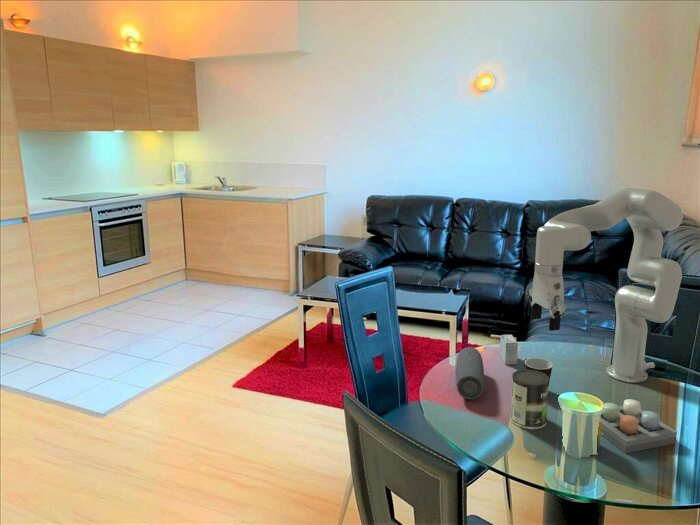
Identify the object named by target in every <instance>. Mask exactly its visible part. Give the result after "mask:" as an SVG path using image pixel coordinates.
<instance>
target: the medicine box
mask: <svg viewBox="0 0 700 525" xmlns="http://www.w3.org/2000/svg"><path fill="white" fill-rule="evenodd" d="M499 342H500V343H499V347H500V348H499V356H500V358H501V360H502V361H503V363H504V364H505V365H506V366H507V365H508V366H509V365H518V352H519V351H518V348H519V347H518V346H519V345H518V344H519V343H518V341H517V340H516V339H515V337H514V336H513V334H501V335H500V340H499Z"/></svg>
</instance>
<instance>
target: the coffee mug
mask: <svg viewBox="0 0 700 525" xmlns="http://www.w3.org/2000/svg"><path fill="white" fill-rule="evenodd" d="M523 365H524V369H529V370H536V371H540V372H542V373H544V374H546V375H547V376H548V377H549V379H550V380H551V378H552V377H551V376H552V371H553V367H554V365H553V362H551V361H550V360H548V359H545V358H540V357H530V358H525V359H524V360H523ZM550 380H549V383H550Z"/></svg>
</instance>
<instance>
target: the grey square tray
mask: <svg viewBox="0 0 700 525" xmlns="http://www.w3.org/2000/svg"><path fill="white" fill-rule="evenodd" d="M618 406H619V407H620V414H619V420H617V421H610V420H607V419H605V418H603V417H602V415H601V419H600V420H601V422H602V425H601V432H602V433H603V434H604V435H605V436H606V437H607V438H608V439H609V440H610V441H611V442H612V443H613V444H612V443H611V442H610V441H609V442H610V443H611V444H612V445H613V446H615V447H616V448H618V450H621V452H623V454H629V453H634V452H640V451H644V450H650V449H654V448H659V447H664V446H665V447H666V446H668V445H669V444H670V445H675V444H676V441H677V430H675V429H673V428H671V427H670V426H669V425H667V424H666V423H664V422H662V421H661V420H660V425H659V429H657V430H650V429H647V428H644V427H643V426H642V425H641V419H642V412H644V411H645V410H644V409H642V408H641V410H640V416H638V417H636V418H637V419H638V420H639V423H638V432H637V433H636V434H627V433H624V432H622V431H621V430H620V428H619V427H620V418H621V416H622V415H625V414H624V413H623V404H622V405H618Z"/></svg>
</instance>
